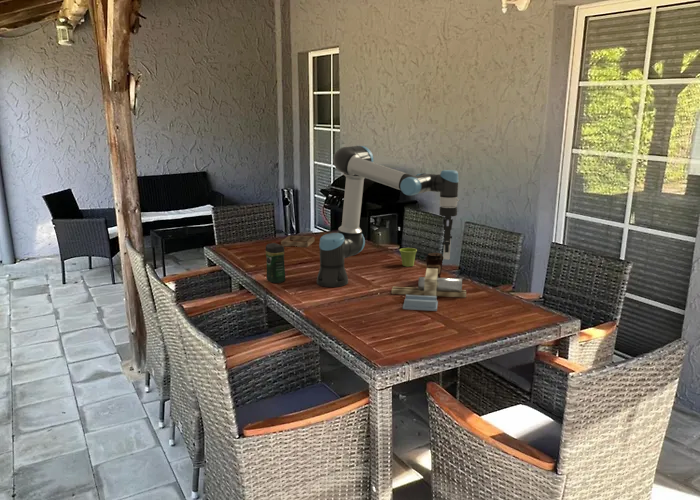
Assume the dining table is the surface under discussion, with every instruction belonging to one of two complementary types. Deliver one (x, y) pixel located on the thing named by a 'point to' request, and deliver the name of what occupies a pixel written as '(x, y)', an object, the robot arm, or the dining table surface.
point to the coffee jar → (275, 263)
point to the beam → (428, 287)
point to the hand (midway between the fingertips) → (446, 256)
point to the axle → (444, 284)
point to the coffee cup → (435, 262)
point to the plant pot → (408, 256)
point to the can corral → (298, 238)
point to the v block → (420, 302)
